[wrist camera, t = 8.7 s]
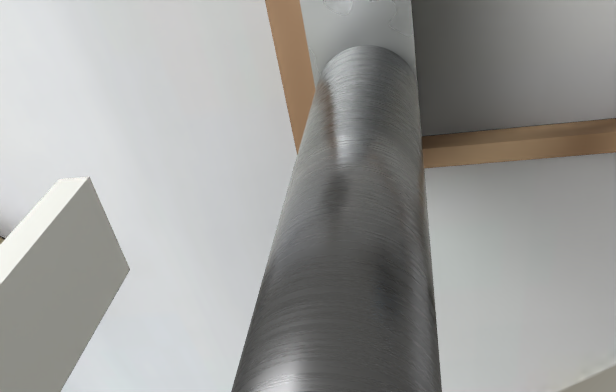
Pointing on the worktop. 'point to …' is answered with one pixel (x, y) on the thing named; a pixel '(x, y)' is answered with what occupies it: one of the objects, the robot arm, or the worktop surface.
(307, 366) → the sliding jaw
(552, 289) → the worktop surface
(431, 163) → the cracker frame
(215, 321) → the worktop surface
